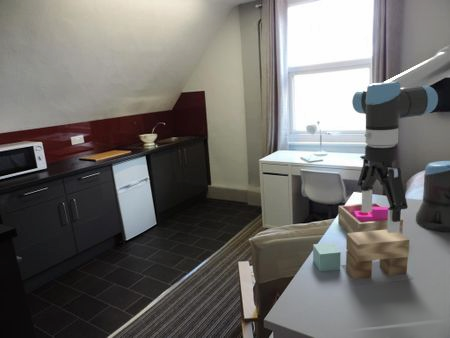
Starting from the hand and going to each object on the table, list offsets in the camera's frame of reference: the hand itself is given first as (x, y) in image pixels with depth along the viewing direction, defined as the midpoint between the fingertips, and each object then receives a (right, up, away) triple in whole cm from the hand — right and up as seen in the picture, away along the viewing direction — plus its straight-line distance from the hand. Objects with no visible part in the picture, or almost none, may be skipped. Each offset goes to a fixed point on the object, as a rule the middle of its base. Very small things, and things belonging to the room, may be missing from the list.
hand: (379, 221), depth 88 cm
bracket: (+10, -8, +29) cm, 32 cm away
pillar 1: (-4, -15, +3) cm, 16 cm away
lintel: (0, -9, +2) cm, 9 cm away
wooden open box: (+10, -8, +29) cm, 32 cm away
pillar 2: (+6, -15, +4) cm, 16 cm away
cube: (-12, -15, +9) cm, 21 cm away
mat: (+1, -15, +4) cm, 16 cm away
